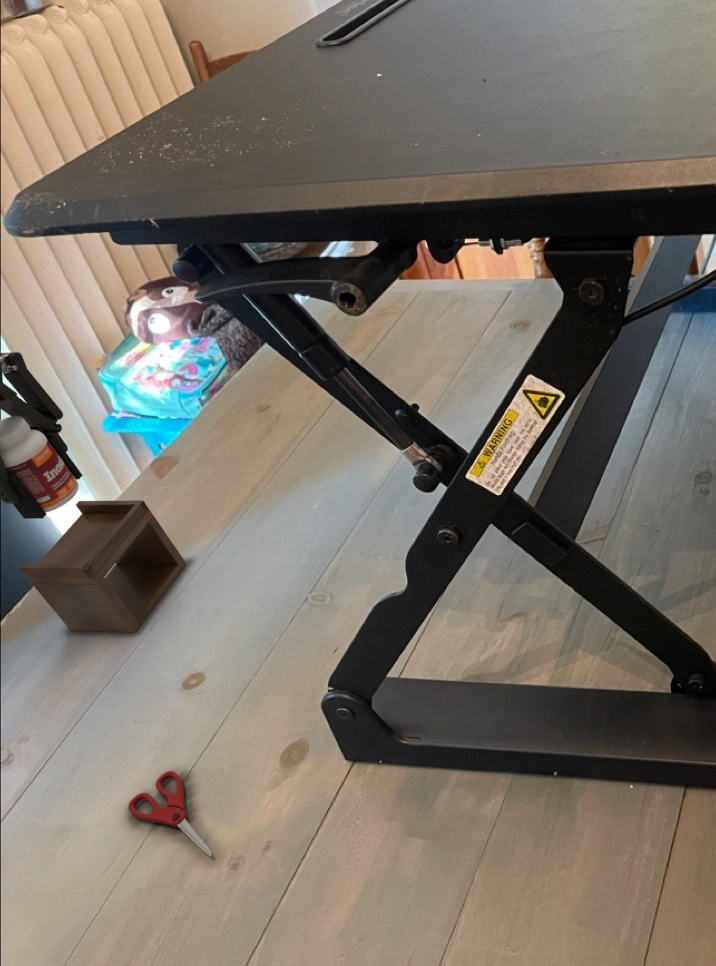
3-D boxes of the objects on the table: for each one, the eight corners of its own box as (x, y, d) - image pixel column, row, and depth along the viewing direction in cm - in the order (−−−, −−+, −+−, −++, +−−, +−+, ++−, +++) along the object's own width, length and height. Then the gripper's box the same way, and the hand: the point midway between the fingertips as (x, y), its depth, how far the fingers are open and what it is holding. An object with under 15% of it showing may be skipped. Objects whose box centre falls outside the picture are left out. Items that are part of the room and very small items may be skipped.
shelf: (70, 630, 137) (18, 567, 130) (124, 562, 146) (79, 500, 139) (135, 632, 135) (86, 568, 128) (186, 563, 144) (143, 500, 137)
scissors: (174, 771, 116) (170, 766, 116) (237, 837, 108) (233, 832, 108) (128, 809, 113) (123, 803, 113) (189, 879, 105) (185, 874, 105)
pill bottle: (75, 506, 127) (23, 436, 121) (22, 521, 127) (-33, 452, 120) (85, 474, 132) (35, 405, 125) (34, 489, 132) (-18, 421, 125)
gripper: (-103, 394, 107) (27, 553, 121) (23, 291, 122) (126, 445, 136) (-161, 396, 109) (-26, 553, 123) (-30, 295, 123) (77, 446, 137)
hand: (53, 496), depth 129 cm, fingers closed on pill bottle, 6 cm apart
